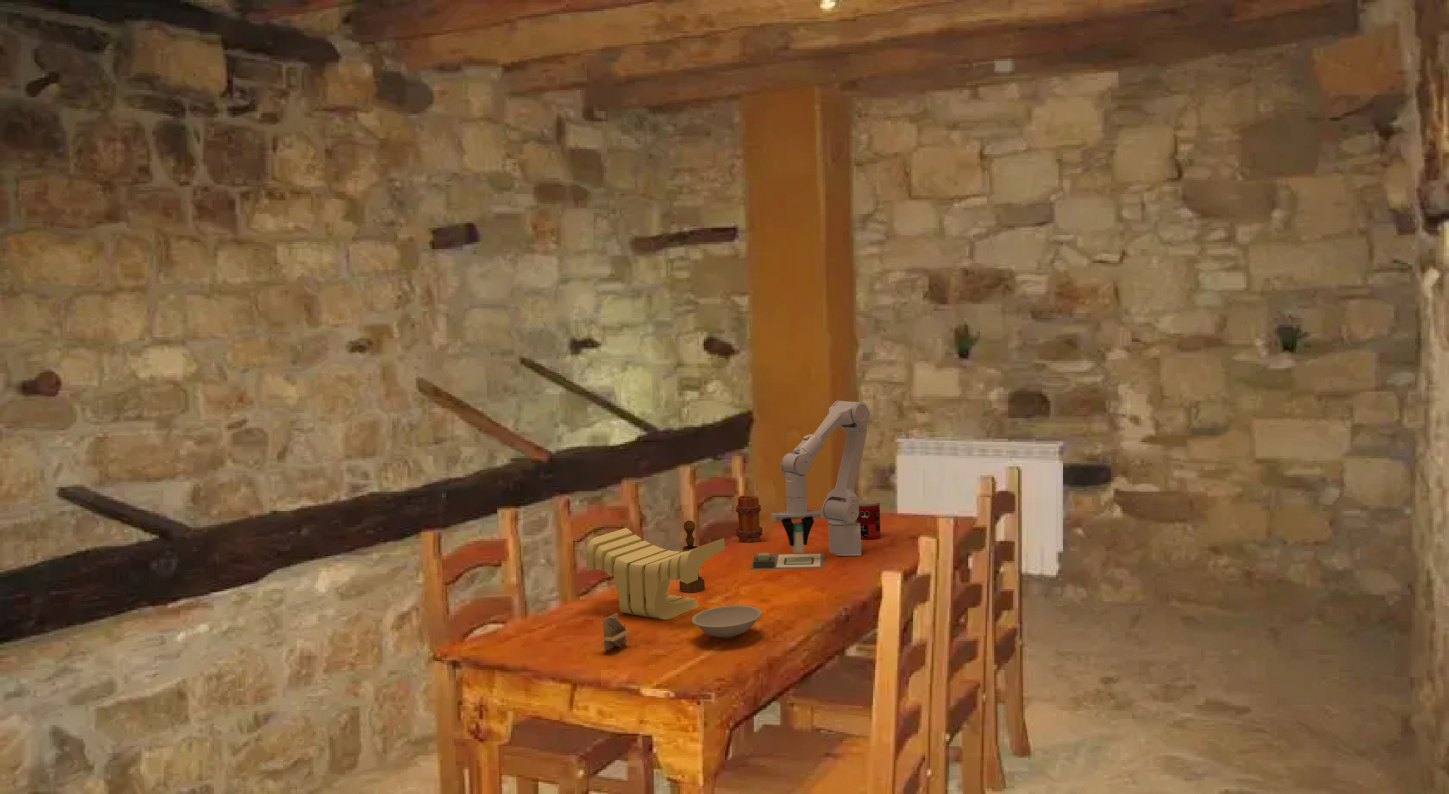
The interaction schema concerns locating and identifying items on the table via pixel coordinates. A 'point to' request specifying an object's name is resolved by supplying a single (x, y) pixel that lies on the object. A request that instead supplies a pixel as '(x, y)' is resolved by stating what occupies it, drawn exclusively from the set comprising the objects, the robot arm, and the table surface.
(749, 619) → the dish
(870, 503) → the canned food
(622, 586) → the slatted curved stool
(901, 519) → the table surface
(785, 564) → the colouring board
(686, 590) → the brown tall knobbed piece
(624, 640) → the architectural model
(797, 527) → the marker
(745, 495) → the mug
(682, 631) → the table surface
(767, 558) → the button
